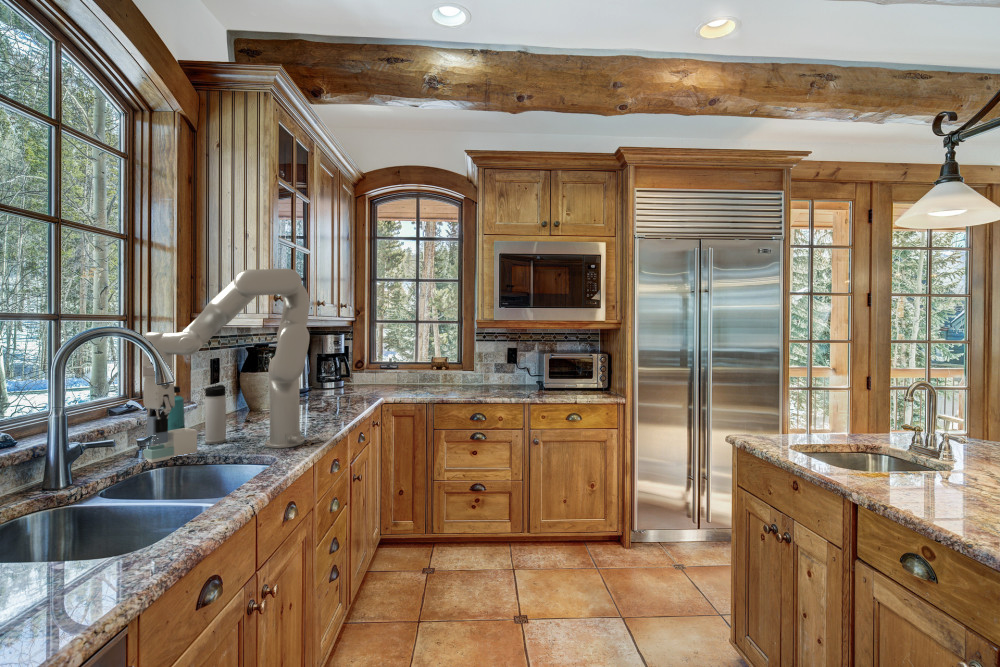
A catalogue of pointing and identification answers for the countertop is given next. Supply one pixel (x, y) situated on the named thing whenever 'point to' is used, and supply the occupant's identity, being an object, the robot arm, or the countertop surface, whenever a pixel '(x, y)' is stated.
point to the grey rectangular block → (151, 431)
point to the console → (173, 445)
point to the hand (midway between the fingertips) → (157, 430)
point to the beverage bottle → (176, 412)
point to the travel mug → (215, 415)
